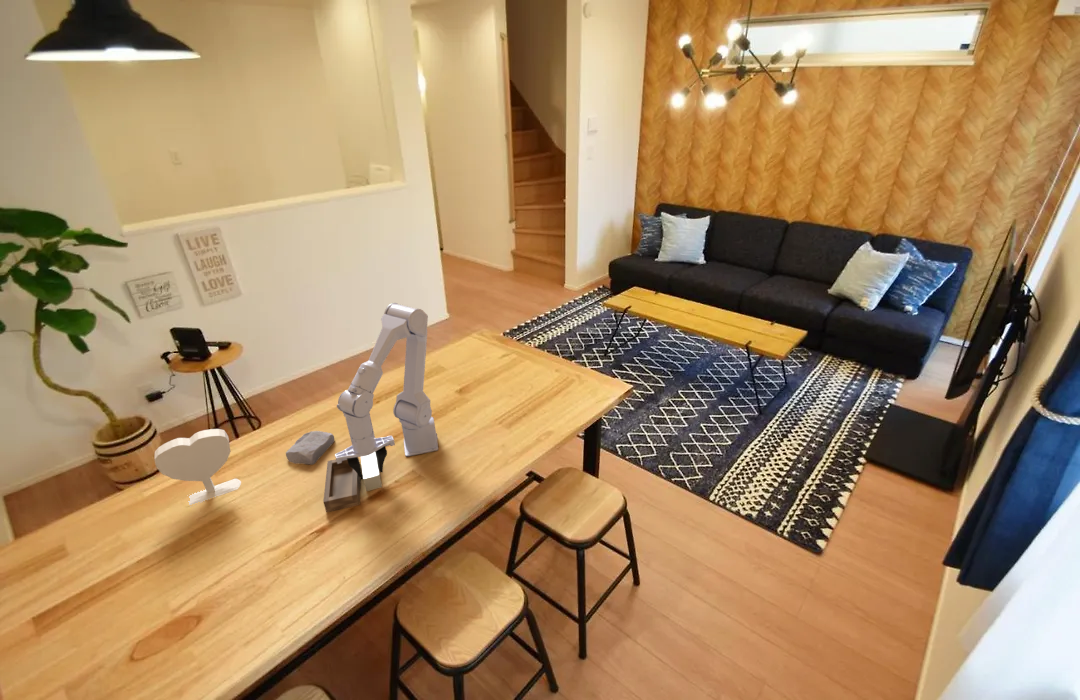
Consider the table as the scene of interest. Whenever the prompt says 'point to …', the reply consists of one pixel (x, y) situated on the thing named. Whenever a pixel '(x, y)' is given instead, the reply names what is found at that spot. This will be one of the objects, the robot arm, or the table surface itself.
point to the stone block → (310, 447)
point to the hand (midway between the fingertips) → (371, 473)
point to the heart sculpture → (197, 462)
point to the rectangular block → (370, 472)
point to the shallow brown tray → (341, 486)
